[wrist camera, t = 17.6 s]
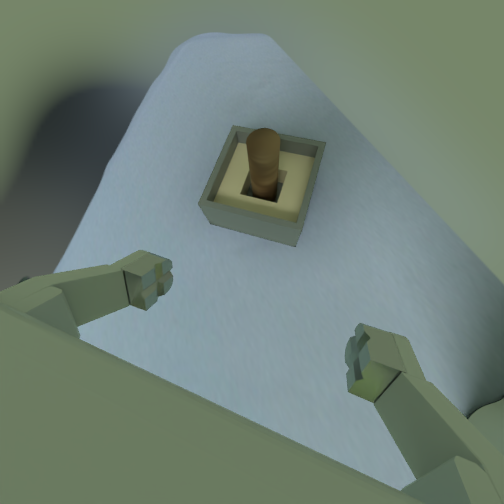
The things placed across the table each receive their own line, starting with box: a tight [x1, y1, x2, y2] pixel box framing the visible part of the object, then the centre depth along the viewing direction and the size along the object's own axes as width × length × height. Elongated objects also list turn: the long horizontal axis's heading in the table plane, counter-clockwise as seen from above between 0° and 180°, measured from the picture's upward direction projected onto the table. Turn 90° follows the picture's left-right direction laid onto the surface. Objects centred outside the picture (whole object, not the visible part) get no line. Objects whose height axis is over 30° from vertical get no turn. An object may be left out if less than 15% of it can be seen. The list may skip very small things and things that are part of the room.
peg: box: [246, 128, 280, 202], centre depth 32 cm, size 4×4×12 cm
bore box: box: [198, 125, 326, 247], centre depth 35 cm, size 16×16×7 cm
